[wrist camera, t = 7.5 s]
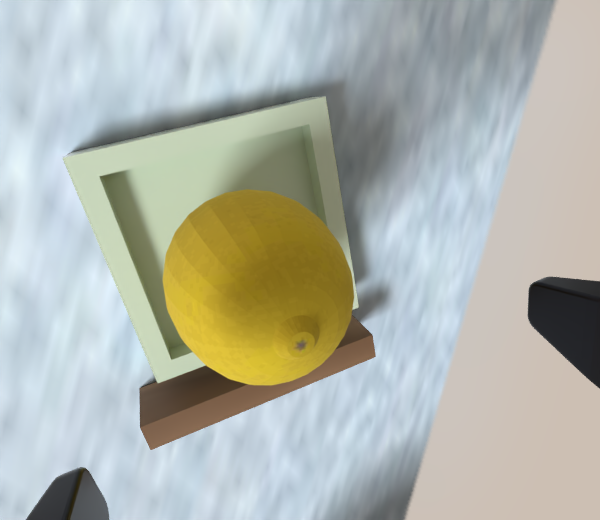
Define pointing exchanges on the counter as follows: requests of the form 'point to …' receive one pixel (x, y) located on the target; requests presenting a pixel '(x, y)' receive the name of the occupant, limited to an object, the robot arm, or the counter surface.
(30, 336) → the counter surface
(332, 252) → the lemon
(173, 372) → the dish
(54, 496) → the robot arm
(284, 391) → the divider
